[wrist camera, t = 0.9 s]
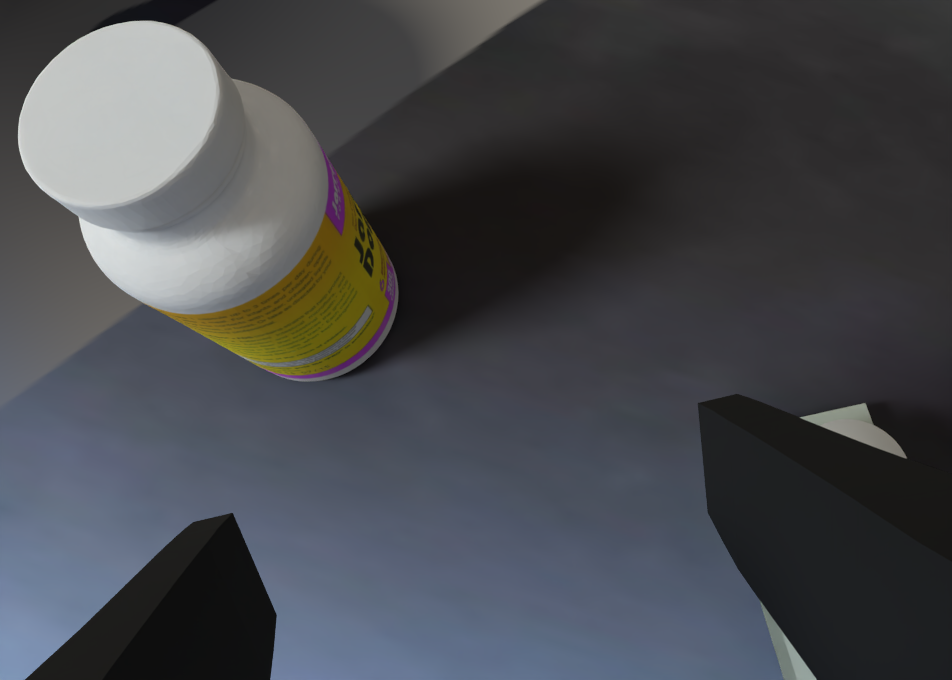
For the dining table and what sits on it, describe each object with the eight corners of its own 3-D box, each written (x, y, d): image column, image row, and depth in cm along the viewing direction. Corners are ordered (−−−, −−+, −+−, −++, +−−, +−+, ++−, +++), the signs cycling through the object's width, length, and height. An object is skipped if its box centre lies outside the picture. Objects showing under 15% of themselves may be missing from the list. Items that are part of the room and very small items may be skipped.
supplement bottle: (433, 325, 26) (321, 141, 13) (287, 417, 25) (33, 316, 13) (352, 198, 28) (187, -66, 15) (215, 282, 27) (-66, 82, 15)
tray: (1036, 920, 19) (1248, 1095, 13) (867, 950, 19) (1001, 1134, 13) (845, 410, 23) (942, 373, 17) (709, 440, 23) (760, 413, 18)
